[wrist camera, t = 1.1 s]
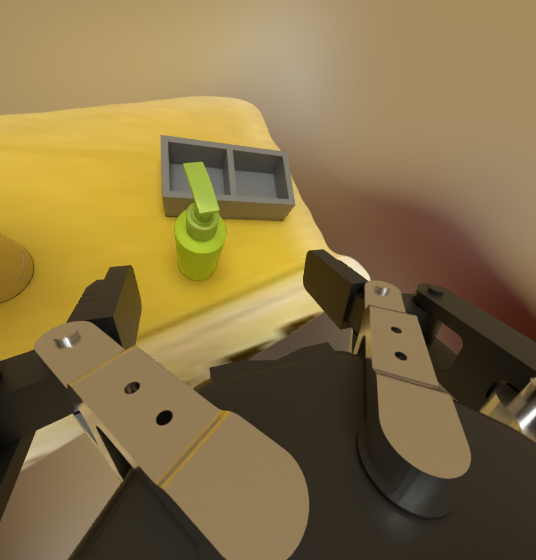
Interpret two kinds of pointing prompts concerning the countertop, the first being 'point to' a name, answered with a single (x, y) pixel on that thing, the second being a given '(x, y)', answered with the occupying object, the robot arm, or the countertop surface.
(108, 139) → the countertop surface
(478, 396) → the robot arm
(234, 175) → the caddy
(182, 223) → the soap dispenser
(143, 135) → the countertop surface
